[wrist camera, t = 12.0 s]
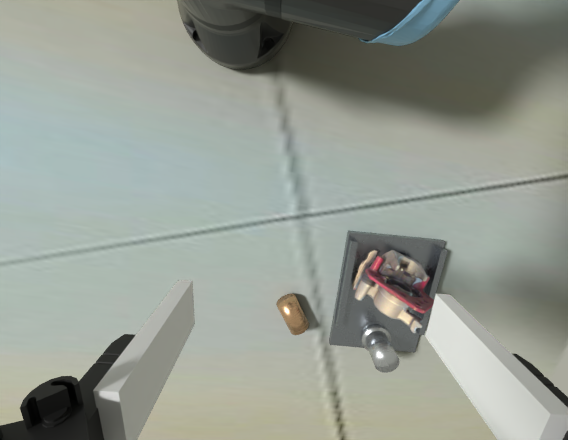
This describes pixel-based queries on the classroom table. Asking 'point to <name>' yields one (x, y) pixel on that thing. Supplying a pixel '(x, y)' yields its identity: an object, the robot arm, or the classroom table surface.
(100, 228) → the classroom table surface
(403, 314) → the brake caliper
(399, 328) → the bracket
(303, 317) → the golden brown rounded block
